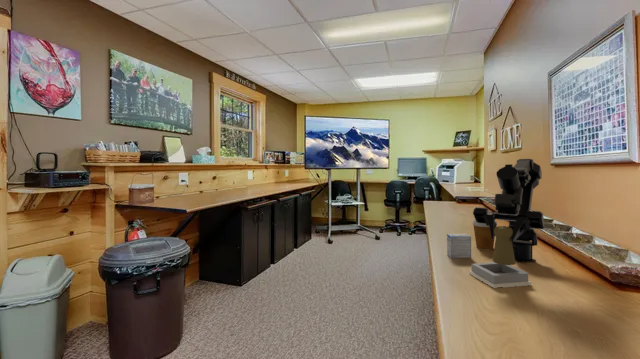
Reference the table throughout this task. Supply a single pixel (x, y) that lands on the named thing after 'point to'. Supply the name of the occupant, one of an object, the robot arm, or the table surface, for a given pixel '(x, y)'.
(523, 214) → the robot arm
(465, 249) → the medicine box
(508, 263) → the cork
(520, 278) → the socket plate
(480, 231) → the disposable coffee cup
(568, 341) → the table surface
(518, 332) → the table surface
